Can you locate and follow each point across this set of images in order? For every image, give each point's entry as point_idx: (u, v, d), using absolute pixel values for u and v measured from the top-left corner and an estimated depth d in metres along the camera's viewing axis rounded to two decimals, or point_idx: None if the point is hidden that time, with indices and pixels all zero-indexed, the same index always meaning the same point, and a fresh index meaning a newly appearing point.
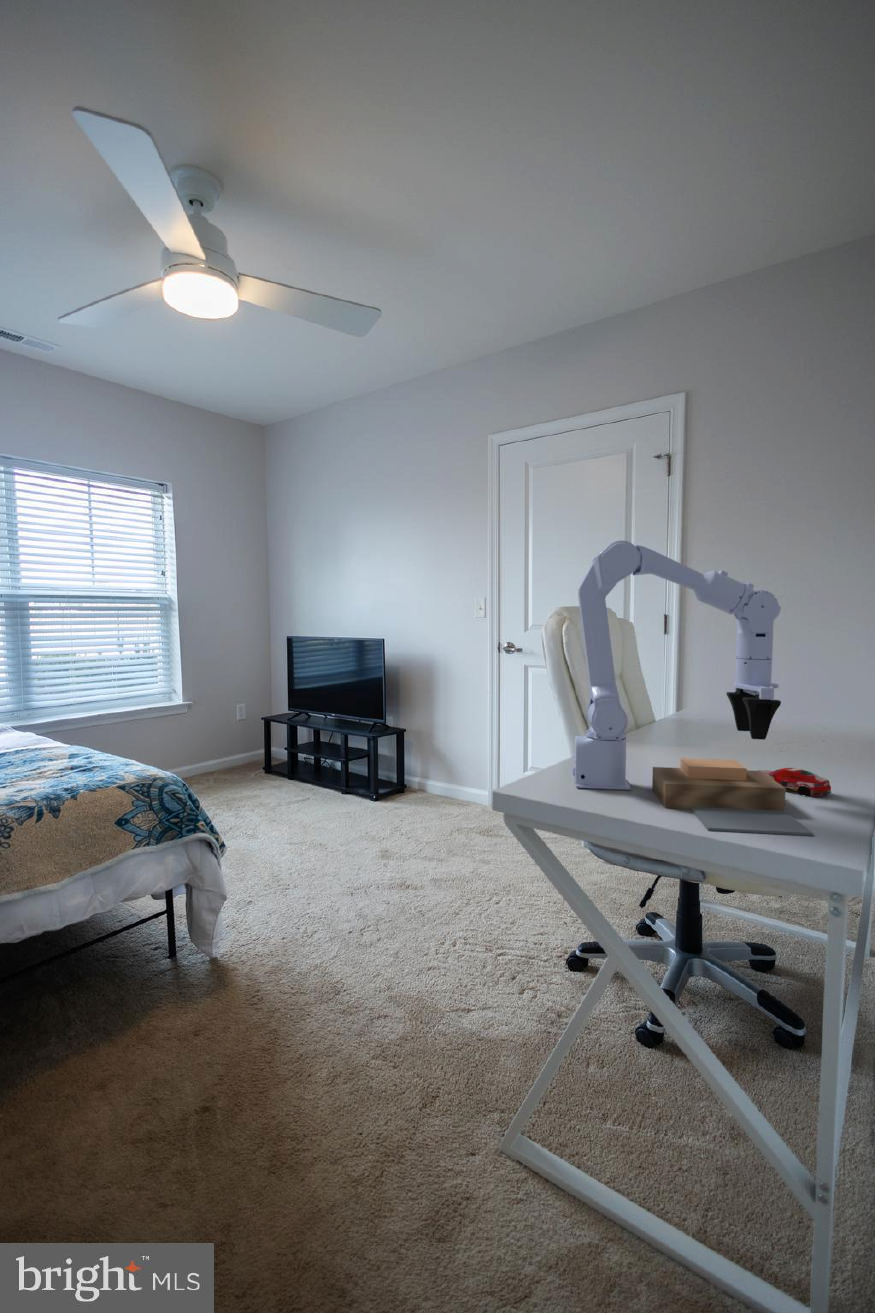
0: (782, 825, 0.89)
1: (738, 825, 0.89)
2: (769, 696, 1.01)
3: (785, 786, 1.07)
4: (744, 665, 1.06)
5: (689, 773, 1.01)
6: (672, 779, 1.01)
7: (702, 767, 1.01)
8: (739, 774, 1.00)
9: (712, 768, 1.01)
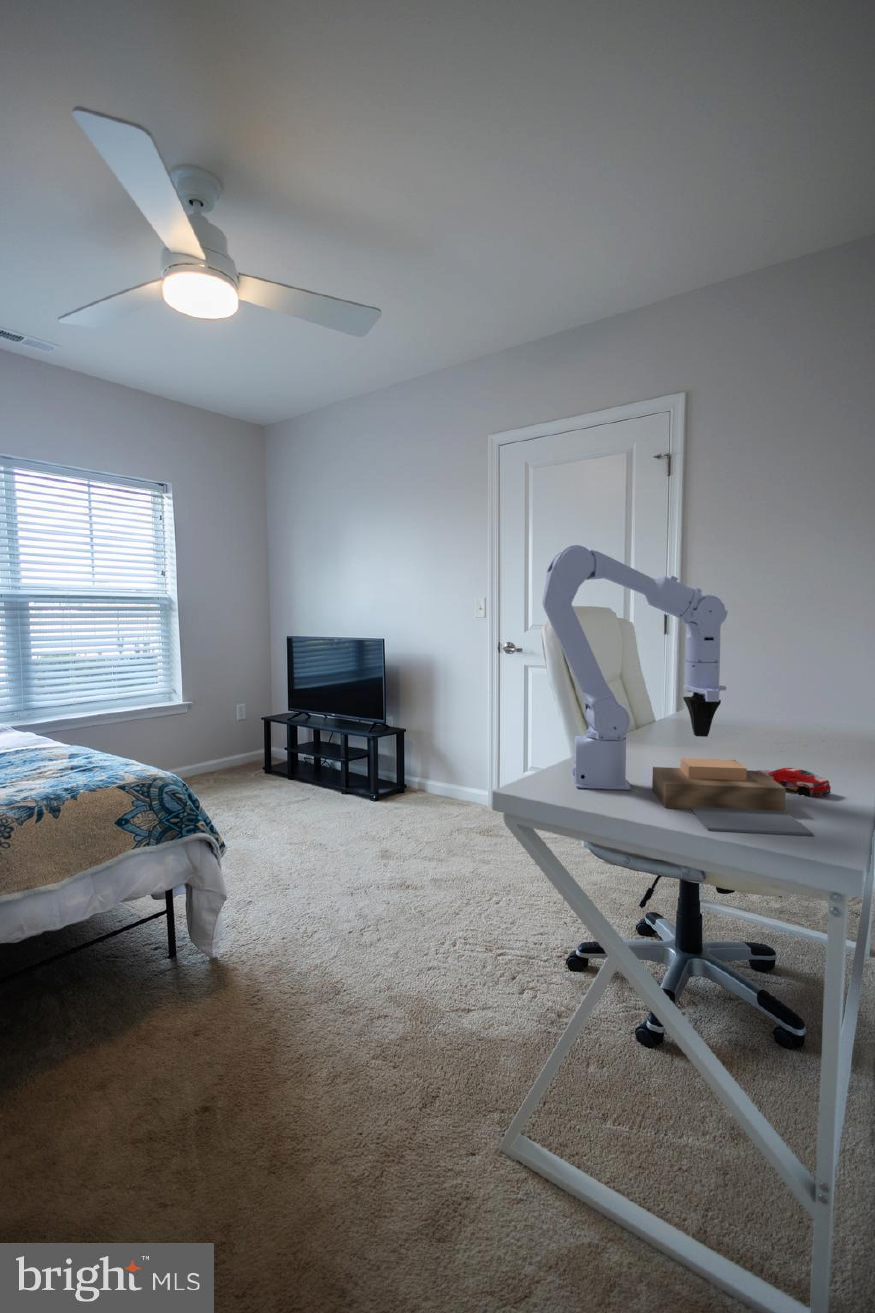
0: (782, 825, 0.89)
1: (738, 825, 0.89)
2: (714, 698, 1.04)
3: (785, 786, 1.07)
4: (692, 668, 1.09)
5: (689, 773, 1.01)
6: (672, 779, 1.01)
7: (702, 767, 1.01)
8: (739, 774, 1.00)
9: (712, 768, 1.01)
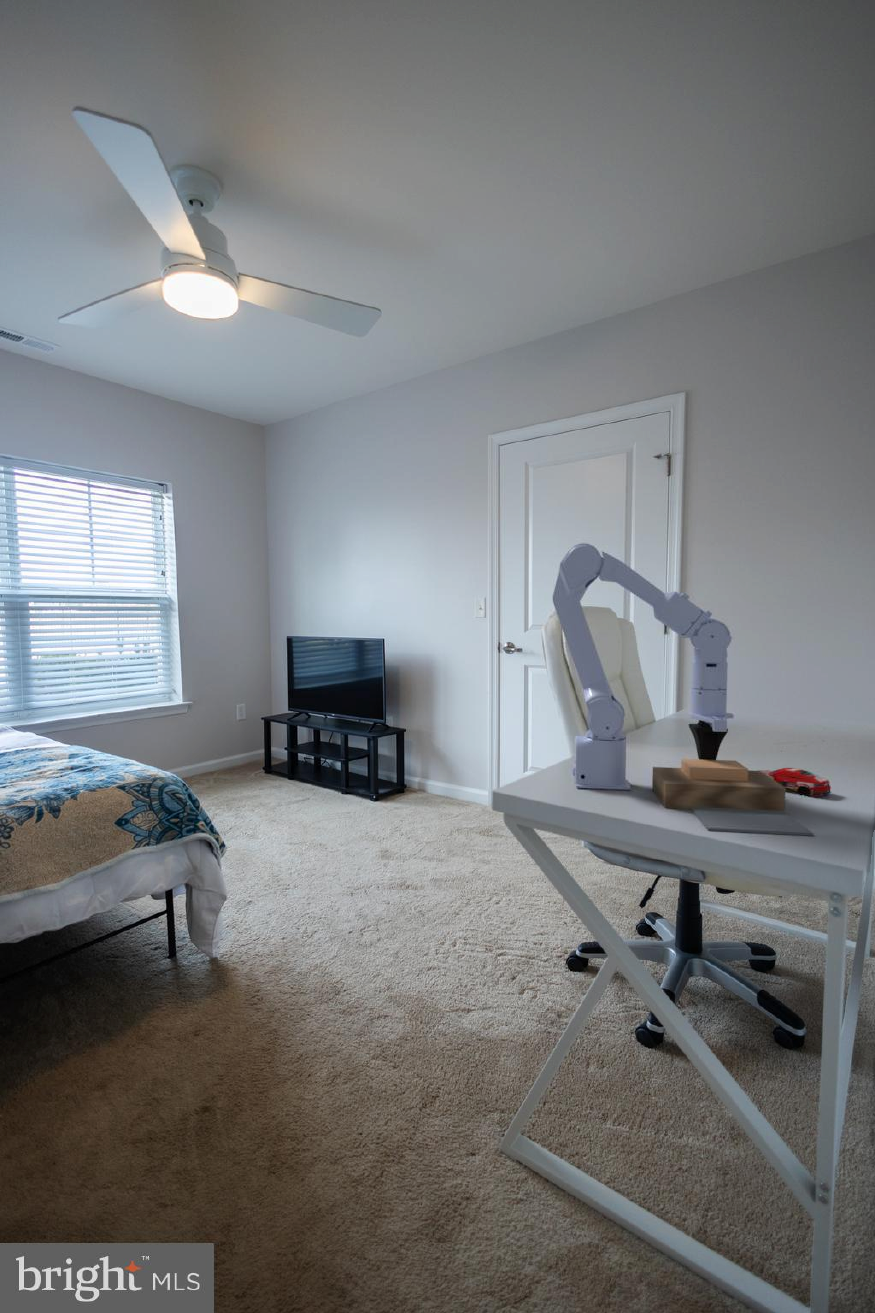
0: (782, 825, 0.89)
1: (738, 825, 0.89)
2: (722, 728, 0.99)
3: (785, 786, 1.07)
4: (699, 695, 1.05)
5: (690, 774, 1.01)
6: (672, 779, 1.01)
7: (704, 768, 1.00)
8: (740, 775, 1.00)
9: (713, 769, 1.00)
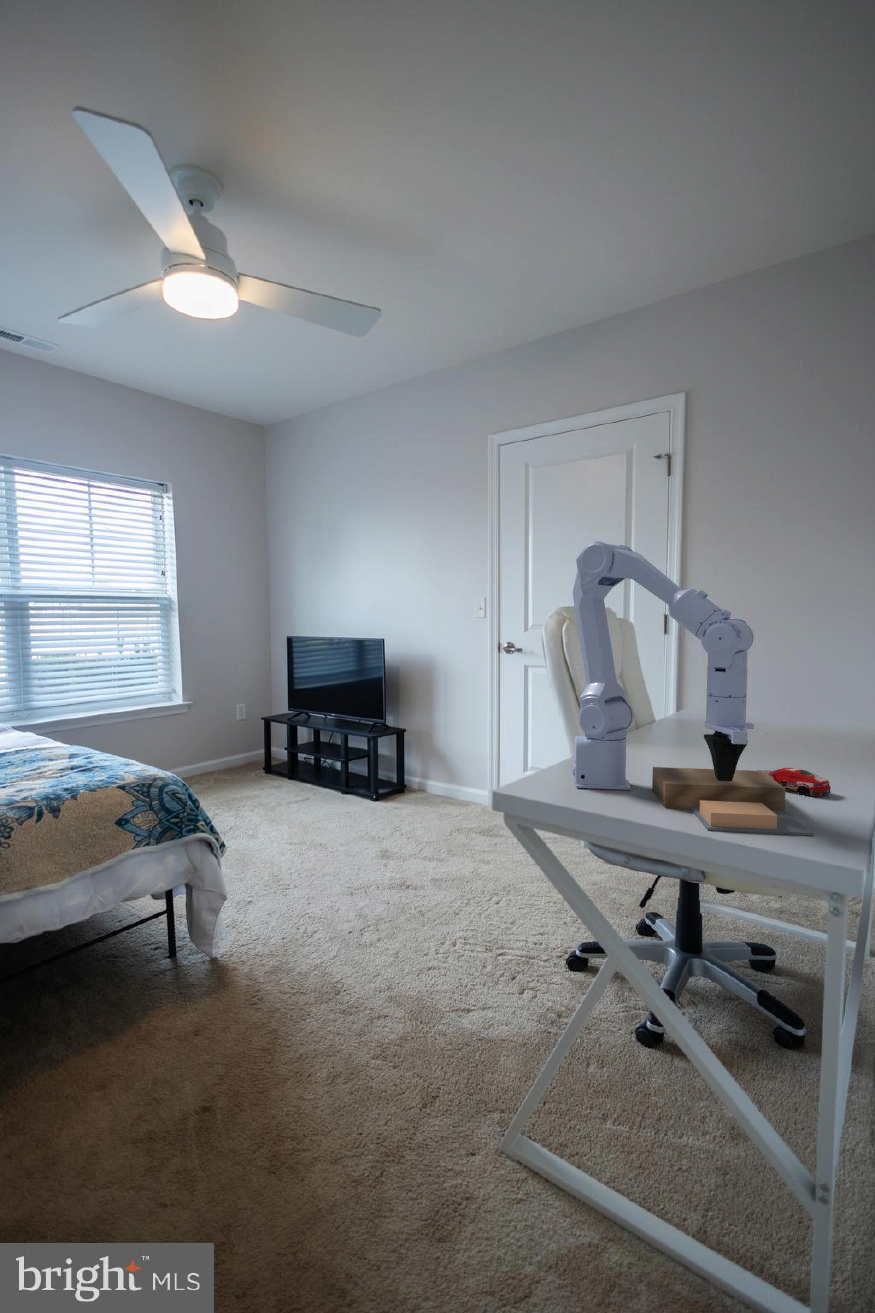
0: (782, 825, 0.89)
1: None
2: (742, 740, 0.89)
3: (784, 786, 1.07)
4: (715, 703, 0.95)
5: (700, 805, 0.94)
6: (672, 779, 1.01)
7: None
8: None
9: None
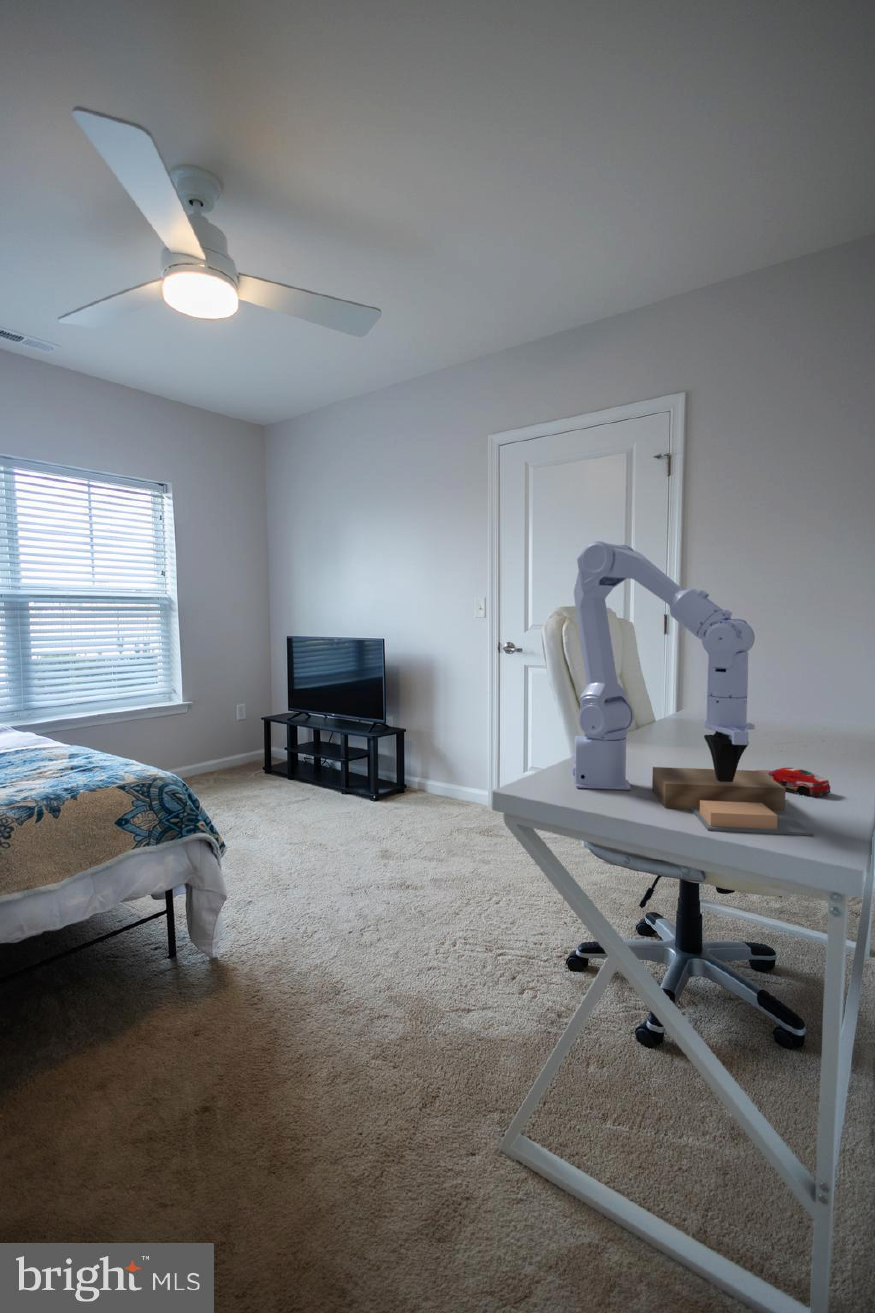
0: (782, 825, 0.89)
1: None
2: (743, 741, 0.89)
3: (784, 786, 1.07)
4: (716, 704, 0.94)
5: (700, 805, 0.94)
6: (672, 779, 1.01)
7: None
8: None
9: None
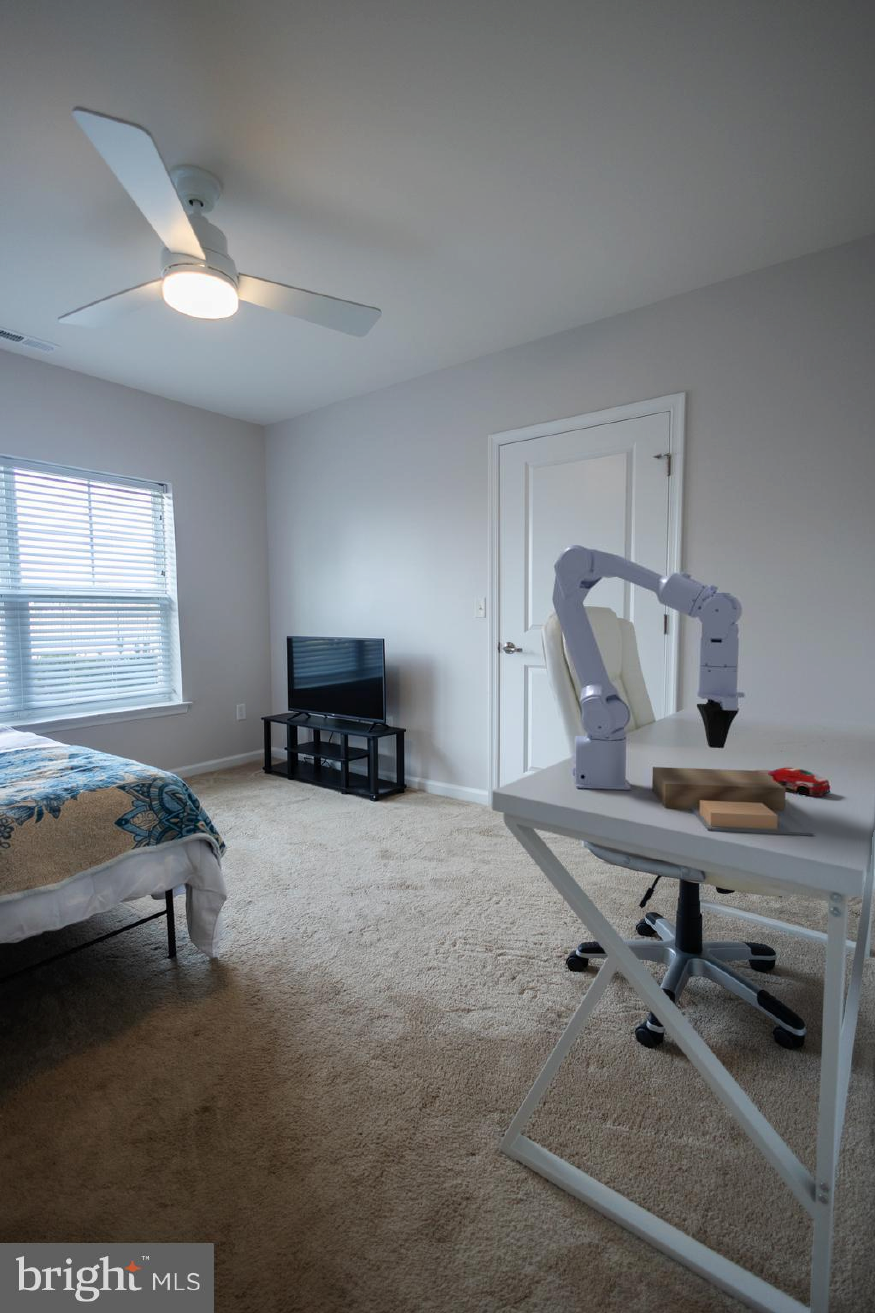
0: (782, 825, 0.89)
1: None
2: (733, 707, 0.94)
3: (784, 786, 1.07)
4: (708, 673, 0.99)
5: (700, 805, 0.94)
6: (672, 779, 1.01)
7: None
8: None
9: None
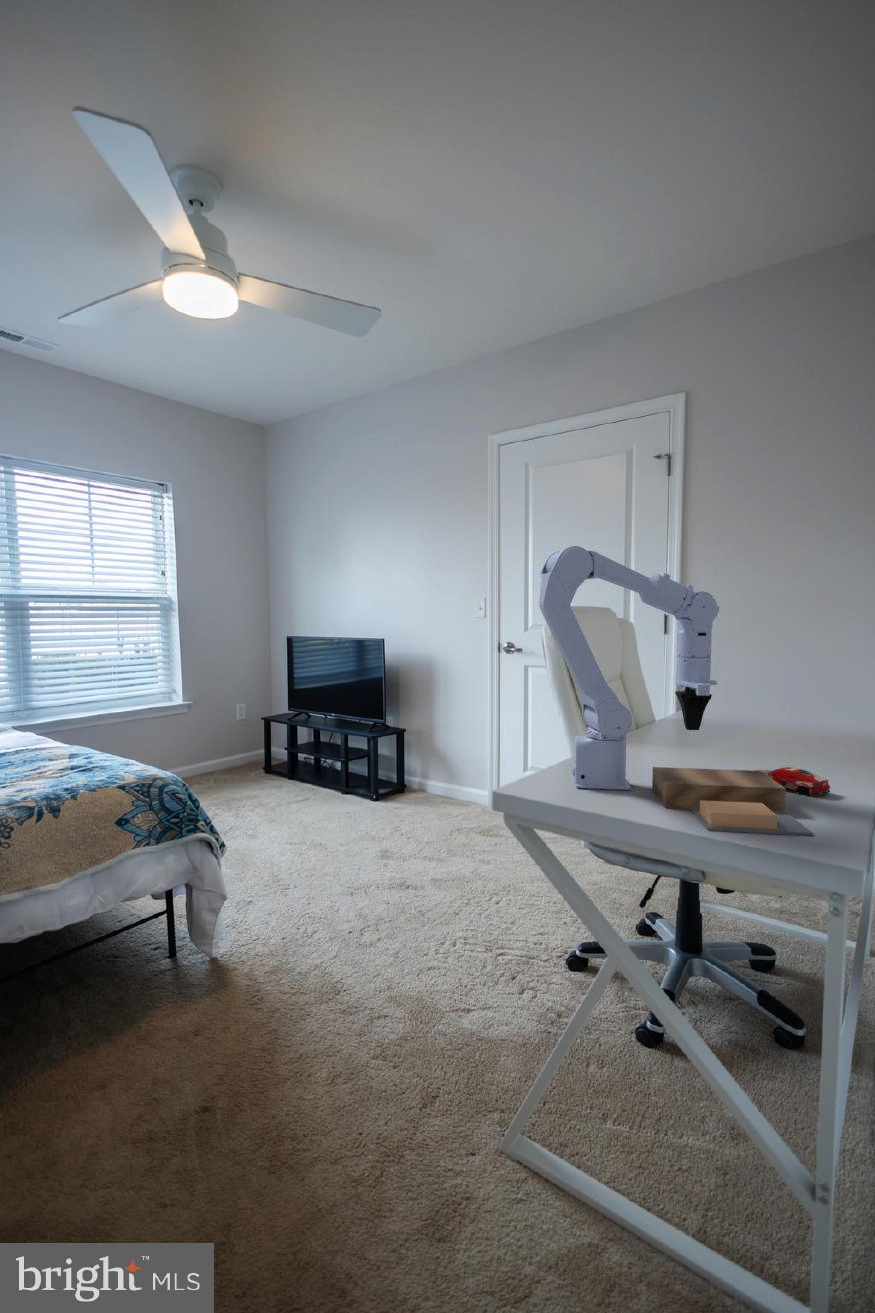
0: (782, 825, 0.89)
1: None
2: (705, 692, 1.06)
3: (784, 786, 1.07)
4: (684, 663, 1.11)
5: (700, 805, 0.94)
6: (672, 779, 1.01)
7: None
8: None
9: None
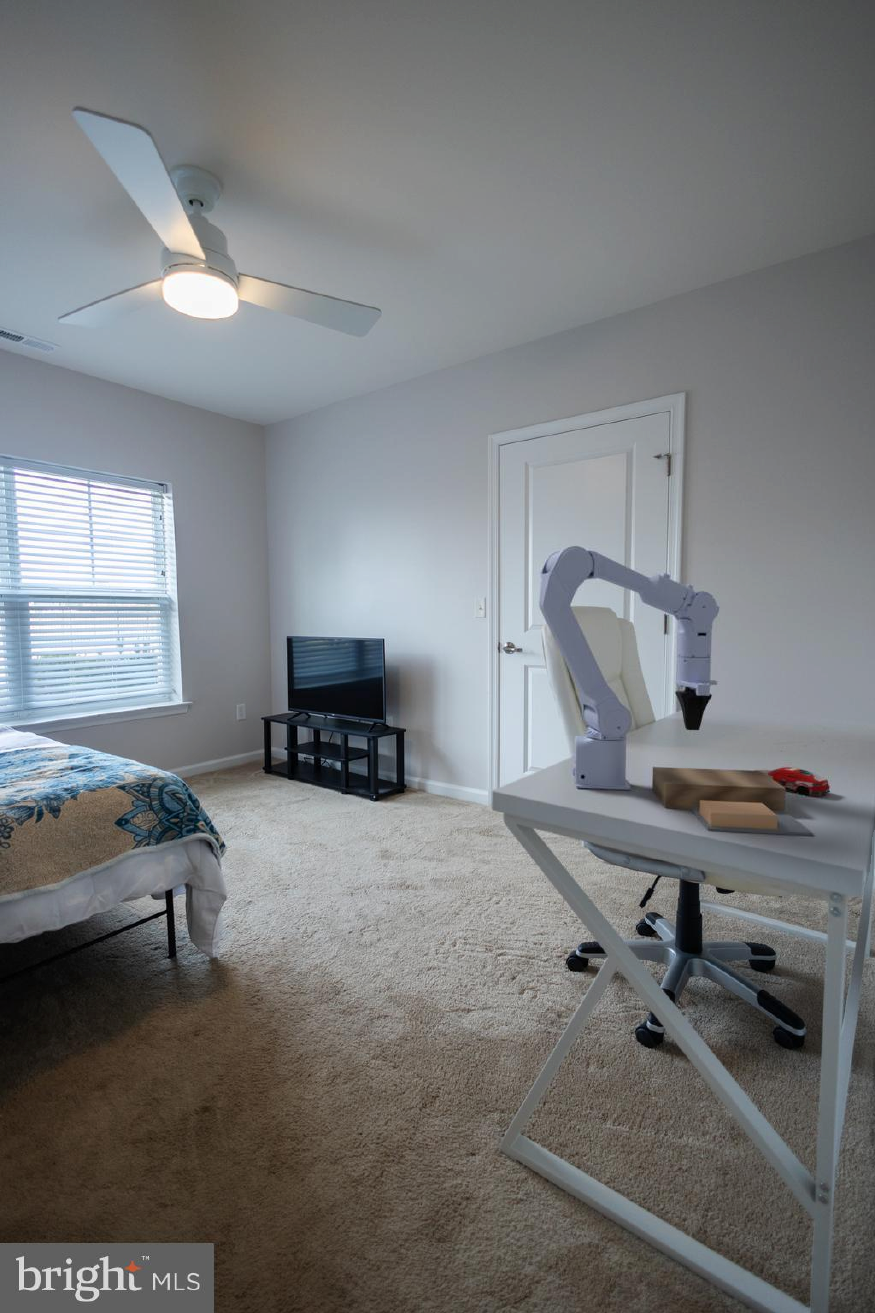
0: (782, 825, 0.89)
1: None
2: (705, 692, 1.06)
3: (784, 785, 1.08)
4: (684, 663, 1.11)
5: (700, 805, 0.94)
6: (672, 779, 1.01)
7: None
8: None
9: None
